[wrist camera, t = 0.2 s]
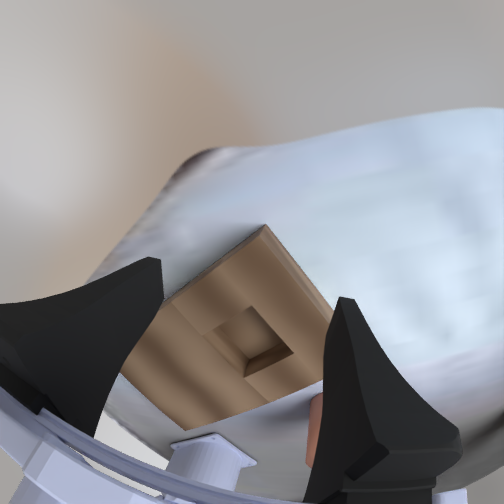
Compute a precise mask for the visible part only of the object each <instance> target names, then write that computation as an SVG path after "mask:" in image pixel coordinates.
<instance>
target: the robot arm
mask: <svg viewBox="0 0 504 504" xmlns="http://www.w3.org/2000/svg"><path fill="white" fill-rule="evenodd" d="M163 300H164V291H163V280H162V268H161V259H157V258H152V257H146V258H143V259H141V260H139V261H136V262H134V263H132V264H130V265H128V266H126V267H124V268H122V269H120V270H117V271H115V272H113V273H111V274H109V275H107V276H105V277H103V278H100V279H98V280H96V281H93V282H91V283H89V284H87V285H84V286H82V287H79V288H76V289H73V290H70V291H68V292H65V293H62V294H57V295H54V296H50V297H46V298H43V299H37V300H32V301H26V302H19V303H7V304H0V447H1V448H2V449H3V450H4V451H5V452H6V453H7V454H8V455H9V456H10V457H11V458H12V459H13V460H14V461H15V462H17V463H18V464H19V465H20V466H21V467H22V471H23V473H24V475H25V476H24V478H23V479H22V481H21V483H20V484H19V486H18V488H17V490H16V491H15V493H14V495H13V497H12V498H11V500H10V502H9V504H467V493H466V492H467V491H466V489H465V488H463V489H458V490H453V491H448V492H442V493H438V494H435V495H432V488H434V487H435V486H436V476H438V475H440V474H441V473H443V472H444V471H446V470H447V469H449V468H450V467H452V466H453V465H454V464H455V463H457V462H458V460H459V459H460V458H461V456H462V445H461V439H460V434H459V430H458V428H457V427H456V426H455V425H453V424H452V423H451V422H449V421H448V420H447V419H446V418H444V417H443V416H442V415H440V414H439V413H438V412H437V411H436V410H434V409H433V408H432V407H431V406H430V405H429V404H428V403H427V402H426V401H425V400H424V399H423V398H422V397H421V396H420V395H419V394H418V393H417V392H416V391H415V390H414V389H413V388H412V387H411V386H410V385H409V384H408V383H407V381H406V380H405V379H404V378H403V377H402V375H401V374H400V373H399V372H398V370H397V369H396V368H395V366H394V365H393V364H392V362H391V361H390V360H389V358H388V357H387V355H386V354H385V352H384V351H383V349H382V348H381V346H380V345H379V343H378V341H377V340H376V338H375V336H374V334H373V333H372V331H371V329H370V327H369V326H368V324H367V322H366V320H365V318H364V316H363V314H362V312H361V311H360V309H359V307H358V305H357V303H356V301H355V300H354V299H350V298H345V297H339V298H338V301H337V304H336V307H335V310H334V313H333V316H332V319H331V322H330V325H329V327H328V330H327V333H326V338H325V346H324V355H323V406H322V417H321V424H320V430H319V436H318V442H317V447H316V452H315V457H314V461H313V466H312V470H311V474H310V478H309V482H308V486H307V490H306V493H305V497H304V500H303V503H299V502H291V501H283V500H276V499H270V498H264V497H259V496H253V495H248V494H244V493H239V492H235V491H234V490H235V487H236V483H237V479H238V476H239V472H240V469H241V468H244V467H249V466H254V465H256V464H257V462H256V461H255V460H253V459H252V458H250V457H249V456H248V455H246V454H245V453H243V452H242V451H241V450H239V449H238V448H236V447H235V446H234V445H232V444H231V443H230V442H228V441H227V440H226V439H224V438H223V437H222V436H220V435H219V434H217V433H214V434H210V435H206V436H203V437H199V438H195V439H191V440H186V441H182V442H178V443H173V444H171V448H173V449H174V450H175V451H174V453H173V455H172V457H171V459H170V461H169V464H168V466H167V468H166V470H162V469H159V468H157V467H154V466H152V465H149V464H147V463H144V462H142V461H140V460H137V459H135V458H133V457H130V456H128V455H126V454H124V453H122V452H120V451H117V450H115V449H113V448H111V447H109V446H107V445H105V444H103V443H101V442H100V441H98V440H96V439H94V435H95V431H96V428H97V425H98V422H99V419H100V416H101V413H102V410H103V408H104V405H105V403H106V400H107V398H108V395H109V393H110V391H111V388H112V386H113V384H114V382H115V380H116V378H117V376H118V374H119V372H120V370H121V368H122V366H123V364H124V362H125V360H126V359H127V357H128V355H129V354H130V352H131V351H132V350H133V348H134V347H135V345H136V344H137V342H138V341H139V339H140V338H141V337H142V335H143V334H144V332H145V331H146V329H147V328H148V327H149V325H150V324H151V322H152V321H153V319H154V318H155V316H156V314H157V312H158V310H159V308H160V306H161V304H162V302H163ZM67 445H68V446H69V447H68V446H67ZM70 447H71V448H73V449H74V450H76V451H78V452H79V453H81V454H83V455H84V456H86V457H88V458H90V459H91V460H93V461H95V462H97V463H99V464H101V465H102V466H104V467H106V468H108V469H110V470H112V471H114V472H117V473H118V474H120V475H123V476H125V477H127V478H129V479H131V480H133V481H136V482H138V483H140V484H143V485H145V486H147V487H150V488H152V489H155V490H158V491H160V492H161V493H162V495H159V496H157V497H153V496H151V495H149V494H146V493H144V492H142V491H140V490H137V489H135V488H133V487H131V486H129V485H126V484H124V483H122V482H120V481H118V480H116V479H114V478H112V477H110V476H108V475H106V474H104V473H102V472H100V471H98V470H96V469H94V468H93V467H92V466H91V465H90V464H88V463H87V462H86V461H85V460H84V458H83V457H82V456H81V455H80V454H78V453H76V452H75V451H74V450H73V449H71V448H70Z"/></svg>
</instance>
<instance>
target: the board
mask: <svg viewBox="0 0 504 504" xmlns="http://www.w3.org/2000/svg"><path fill="white" fill-rule="evenodd" d="M333 313H334V311H333V309H332V308H331V307H330V305H329V304H328V303H327V301H326V300H325V299H324V298H323V296H322V295H321V294H320V292H319V291H318V290H317V288H316V287H315V286H314V285H313V283H312V282H311V281H310V279H309V278H308V277H307V275H306V274H305V273H304V272H303V270H302V269H301V268H300V266H299V265H298V264H297V263H296V261H295V260H294V259H293V257H292V256H291V255H290V254H289V252H288V251H287V250H286V249H285V247H284V246H283V245H282V243H281V242H280V241H279V240H278V238H277V237H276V236H275V235H274V233H273V232H272V231H271V230H270V228H269V227H268V226H267V225H266V224H265V225H264V226H263V227H261V228H260V229H259V230H257V231H256V232H255V233H253V234H252V235H251V236H249V237H248V238H247V239H245V240H244V241H243V242H241V243H240V244H239V245H238V246H236V247H235V248H234V249H232V250H231V251H230V252H228V253H227V254H226V255H224V256H223V257H222V258H220V259H219V260H218V261H216V262H215V263H214V264H213V265H211V266H210V267H209V268H207V269H206V270H205V271H203V272H202V273H201V274H199V275H198V276H197V277H196V278H194V279H193V280H192V281H190V282H189V283H188V284H186V285H185V286H184V287H183V288H181V289H180V290H179V291H177V292H176V293H175V294H173V295H172V296H171V297H170V298H168V299H167V300H166V301H164V302H163V303H162V304H161V306H160V308H159V310H158V312H157V314H156V316H155V318H154V319H153V321H152V322H151V324H150V325H149V327H148V328H147V329H146V331H145V332H144V334H143V335H142V337H141V338H140V339H139V341H138V342H137V344H136V345H135V347H134V348H133V350H132V351H131V352H130V354H129V355H128V357H127V359H126V360H125V362H124V364H123V366H122V368H121V370H120V373H121V374H122V375H123V376H124V377H125V378H126V379H127V380H128V381H129V382H130V383H131V384H132V385H133V386H134V387H135V388H136V389H138V390H139V391H140V392H141V393H142V394H143V395H144V396H145V397H146V398H147V399H148V400H149V401H150V402H152V403H153V404H154V405H155V406H156V407H157V408H158V409H159V410H161V411H162V412H163V413H164V414H165V415H166V416H168V417H169V418H170V419H171V420H172V421H174V422H175V423H176V424H177V425H178V426H180V427H181V428H182V429H183V430H185V431H186V430H190V429H193V428H197V427H200V426H204V425H207V424H210V423H213V422H217V421H220V420H223V419H226V418H229V417H232V416H235V415H238V414H240V413H243V412H246V411H249V410H252V409H254V408H257V407H260V406H262V405H265V404H267V403H270V402H272V401H275V400H277V399H280V398H282V397H285V396H287V395H289V394H292V393H294V392H296V391H299V390H301V389H303V388H305V387H308V386H310V385H312V384H314V383H316V382H318V381H321V380H323V355H324V346H325V338H326V333H327V330H328V327H329V325H330V322H331V319H332V316H333Z"/></svg>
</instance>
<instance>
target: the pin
mask: <svg viewBox="0 0 504 504" xmlns="http://www.w3.org/2000/svg"><path fill="white" fill-rule="evenodd" d="M322 406H323V393H320V394H318V395H316V396H315V397H314V398H313V399H312V400H311V402H310V413H309V427H308V440H307V452H306V464H307V465H308V466H309V467H310V468H312V466H313V461H314V457H315V452H316V447H317V442H318V436H319V430H320V424H321V417H322Z"/></svg>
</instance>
